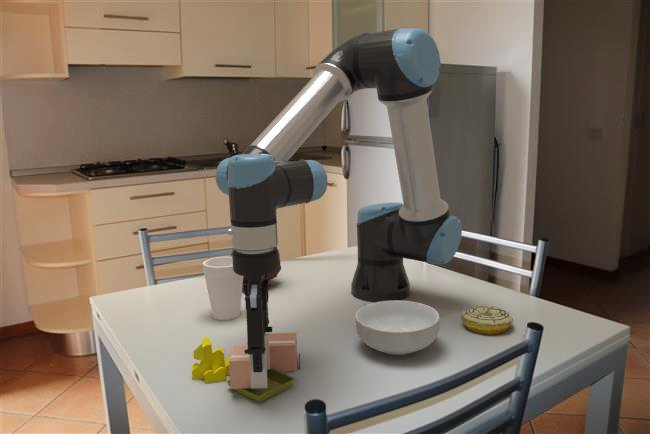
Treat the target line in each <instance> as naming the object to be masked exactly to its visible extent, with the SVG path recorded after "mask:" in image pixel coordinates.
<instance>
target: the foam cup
mask: <svg viewBox="0 0 650 434" xmlns="http://www.w3.org/2000/svg"><path fill="white" fill-rule="evenodd" d="M202 270H203V271H202V272H203V275H204V278H205V282H206V284H205V285H206V288H207V295H208V299H209V303H210V307H211V313H212V314H211V315H212V318H213V319H215V320H218V321H229V320H234V319H237V318H239V317H240V316H241V310H242V309H241V308H242V297H243V296H242V295H243V286H244V284H243V276H241V275H238V274H236V273H235V272H234V271H233V260H232V257H230V256H218V257H217V256H216V257H211V258H209V259H206V260H204V261H203V262H202Z"/></svg>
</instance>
